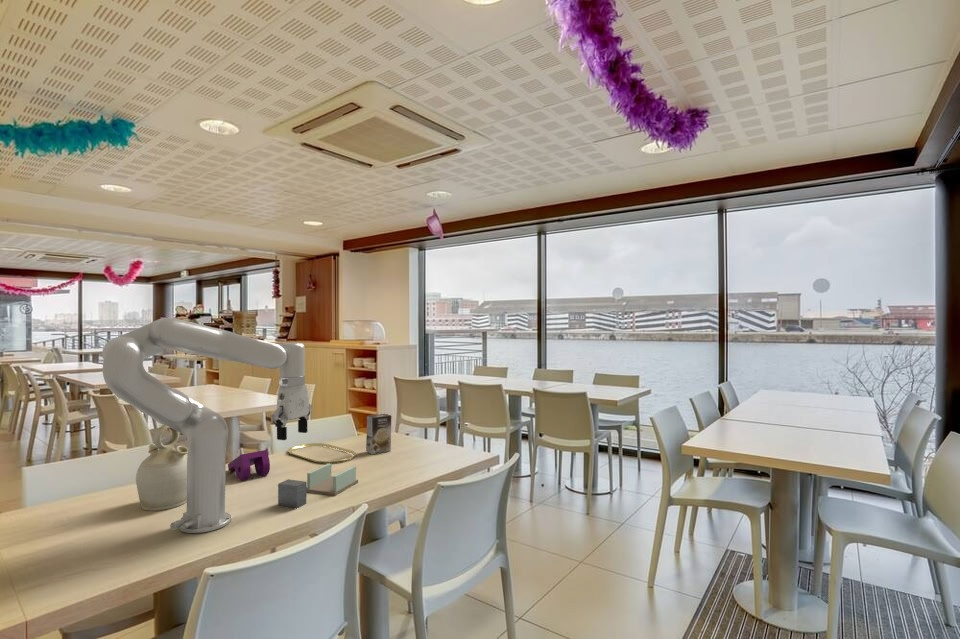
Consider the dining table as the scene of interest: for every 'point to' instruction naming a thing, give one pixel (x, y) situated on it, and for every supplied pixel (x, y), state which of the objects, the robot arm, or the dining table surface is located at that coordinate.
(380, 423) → the coffee box
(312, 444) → the gold oval ring
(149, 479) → the jug
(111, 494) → the dining table surface
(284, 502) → the tall grey upright block
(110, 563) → the dining table surface
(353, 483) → the post slot
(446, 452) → the dining table surface
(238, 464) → the mounting bracket
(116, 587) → the dining table surface
